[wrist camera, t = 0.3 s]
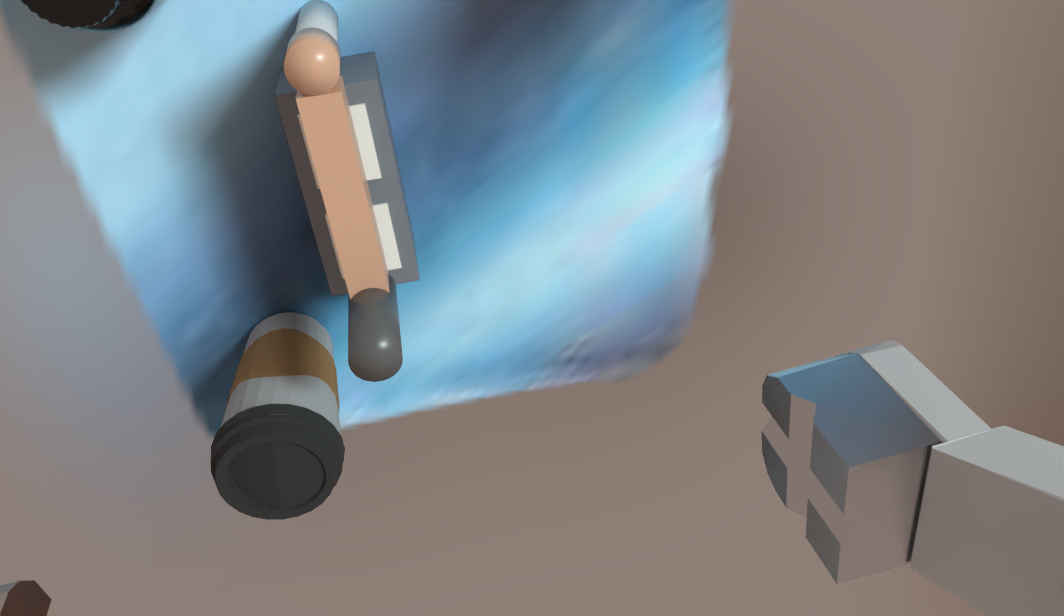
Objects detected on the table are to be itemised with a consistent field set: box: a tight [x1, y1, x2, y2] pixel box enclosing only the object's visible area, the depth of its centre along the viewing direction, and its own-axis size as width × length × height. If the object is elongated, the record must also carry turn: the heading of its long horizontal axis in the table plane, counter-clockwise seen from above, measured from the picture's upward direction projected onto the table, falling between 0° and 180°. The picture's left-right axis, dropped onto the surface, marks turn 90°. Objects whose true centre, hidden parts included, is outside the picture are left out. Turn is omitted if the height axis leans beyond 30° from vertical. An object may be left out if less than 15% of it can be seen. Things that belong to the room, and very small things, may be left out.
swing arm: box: [284, 27, 402, 382], centre depth 45 cm, size 18×3×8 cm, turn 6°
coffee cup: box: [211, 312, 345, 519], centre depth 57 cm, size 8×8×15 cm
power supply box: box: [274, 0, 420, 296], centre depth 52 cm, size 18×6×8 cm, turn 6°
